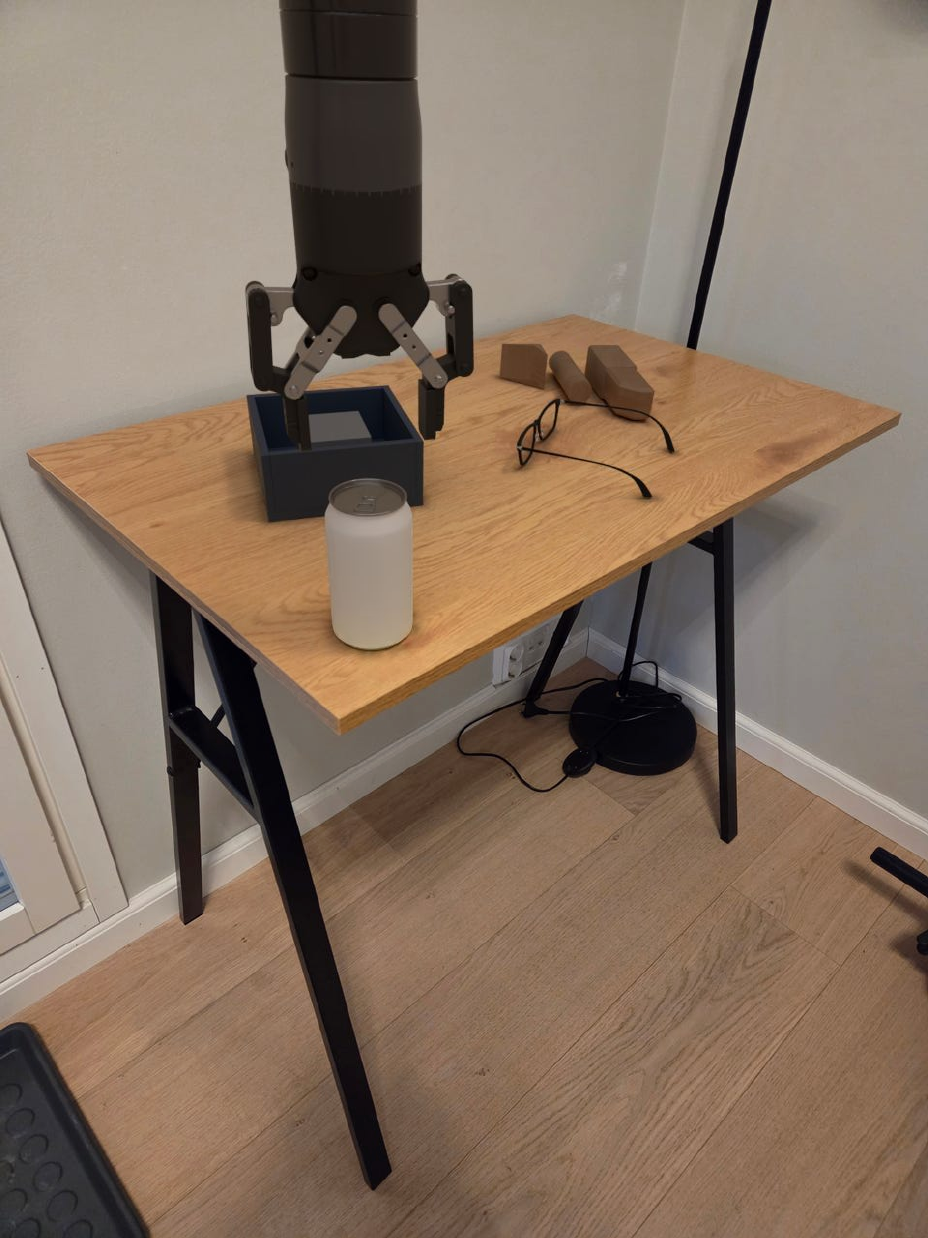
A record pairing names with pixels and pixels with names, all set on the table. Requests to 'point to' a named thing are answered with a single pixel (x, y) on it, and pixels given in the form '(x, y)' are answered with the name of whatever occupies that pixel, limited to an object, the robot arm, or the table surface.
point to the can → (370, 563)
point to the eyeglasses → (537, 424)
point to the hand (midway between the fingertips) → (367, 441)
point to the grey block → (337, 429)
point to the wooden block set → (582, 375)
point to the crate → (333, 451)
